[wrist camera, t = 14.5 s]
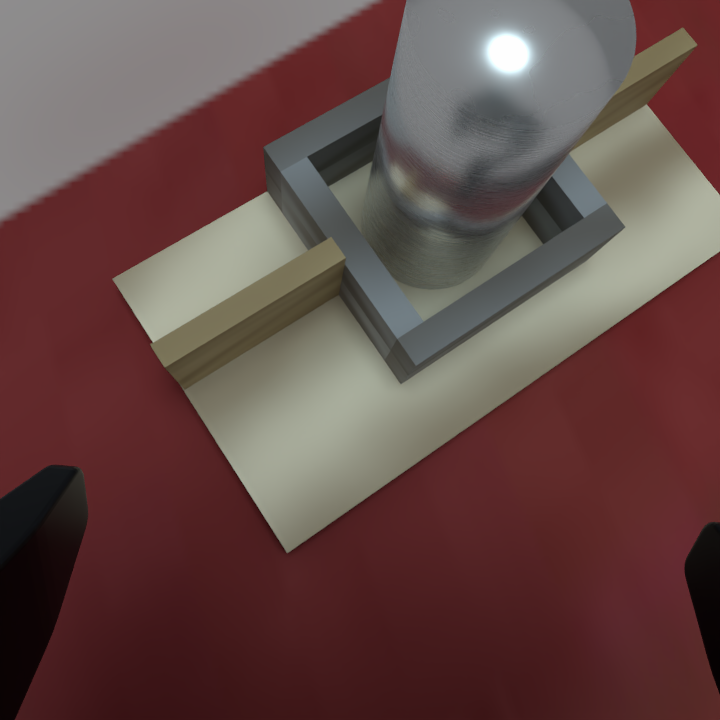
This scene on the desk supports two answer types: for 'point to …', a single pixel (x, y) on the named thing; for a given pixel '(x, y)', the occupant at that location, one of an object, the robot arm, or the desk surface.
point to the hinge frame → (407, 300)
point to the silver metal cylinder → (483, 123)
